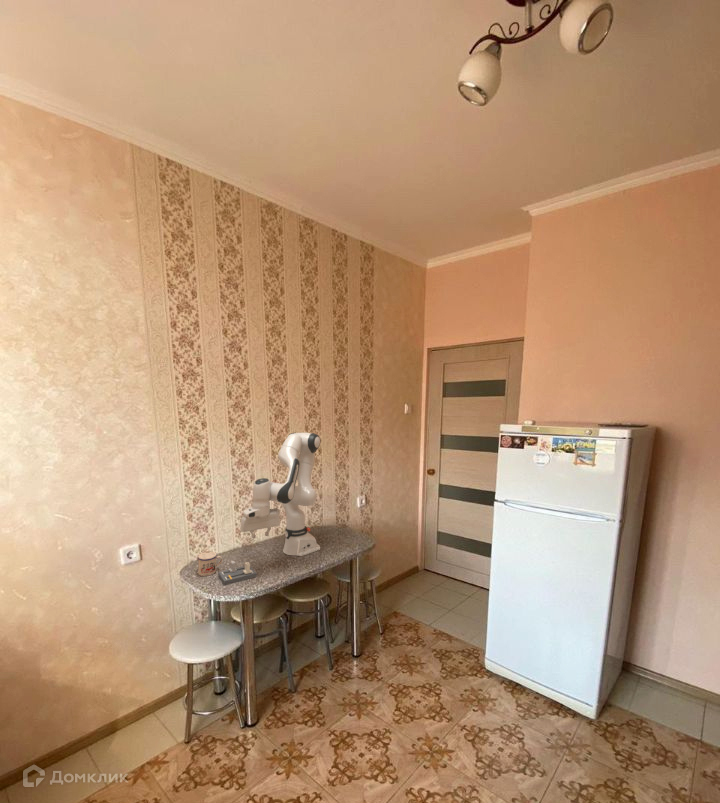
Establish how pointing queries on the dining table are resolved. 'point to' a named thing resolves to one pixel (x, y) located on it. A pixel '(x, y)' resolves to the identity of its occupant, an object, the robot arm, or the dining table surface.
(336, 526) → the dining table surface
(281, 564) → the dining table surface
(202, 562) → the teacup with lid
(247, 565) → the cap
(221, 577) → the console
